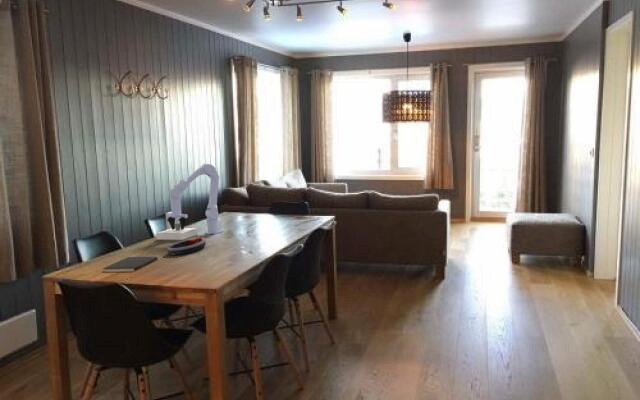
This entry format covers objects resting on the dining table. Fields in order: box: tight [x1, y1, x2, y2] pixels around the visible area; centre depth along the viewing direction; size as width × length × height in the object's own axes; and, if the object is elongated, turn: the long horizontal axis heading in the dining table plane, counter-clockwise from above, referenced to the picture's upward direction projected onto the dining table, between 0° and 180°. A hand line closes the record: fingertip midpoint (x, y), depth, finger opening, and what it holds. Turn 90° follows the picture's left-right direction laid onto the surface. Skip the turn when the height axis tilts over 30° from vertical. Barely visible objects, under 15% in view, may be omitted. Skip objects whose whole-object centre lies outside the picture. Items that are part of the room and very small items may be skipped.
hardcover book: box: [102, 256, 158, 273], centre depth 262 cm, size 16×23×2 cm
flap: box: [164, 223, 197, 231], centre depth 336 cm, size 8×18×4 cm, turn 69°
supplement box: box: [165, 211, 181, 230], centre depth 360 cm, size 7×7×13 cm
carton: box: [156, 229, 198, 242], centre depth 332 cm, size 16×18×4 cm
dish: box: [166, 236, 207, 256], centre depth 292 cm, size 16×31×5 cm, turn 158°
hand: (178, 229), depth 333 cm, fingers open, 6 cm apart
